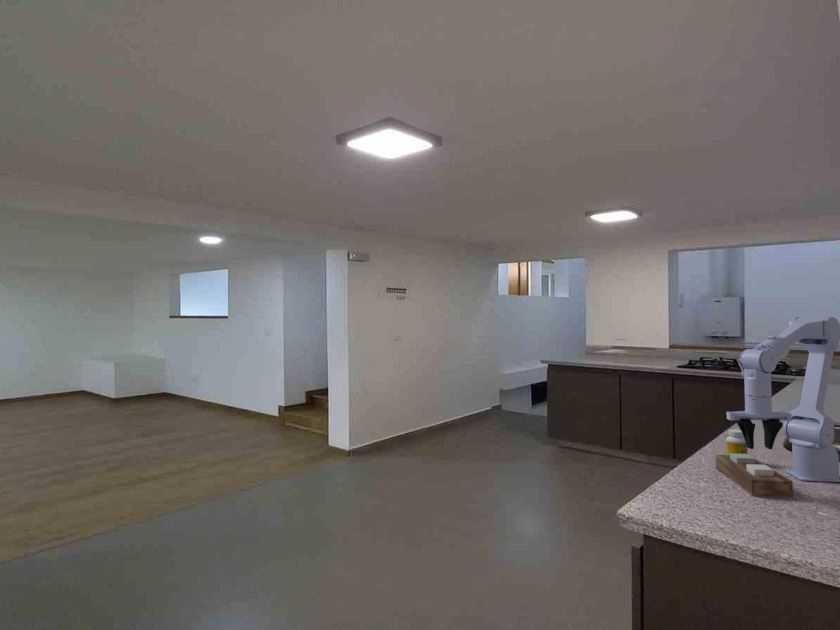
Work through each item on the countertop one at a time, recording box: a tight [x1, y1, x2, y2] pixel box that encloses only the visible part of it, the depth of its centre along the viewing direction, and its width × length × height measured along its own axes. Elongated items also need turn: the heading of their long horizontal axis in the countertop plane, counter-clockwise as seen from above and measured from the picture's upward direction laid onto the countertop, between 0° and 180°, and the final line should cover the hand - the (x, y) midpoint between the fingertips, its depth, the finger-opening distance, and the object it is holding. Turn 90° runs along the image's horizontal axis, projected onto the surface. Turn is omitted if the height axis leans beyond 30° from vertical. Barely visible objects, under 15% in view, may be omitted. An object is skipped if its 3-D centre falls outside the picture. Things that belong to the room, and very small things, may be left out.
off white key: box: [746, 464, 775, 476], centre depth 125 cm, size 4×4×3 cm
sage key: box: [730, 453, 756, 464], centre depth 135 cm, size 4×4×3 cm
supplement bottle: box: [725, 429, 749, 455], centre depth 147 cm, size 5×5×10 cm
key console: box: [715, 454, 794, 499], centre depth 130 cm, size 9×22×4 cm, turn 169°
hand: (759, 448), depth 125 cm, fingers open, 4 cm apart
